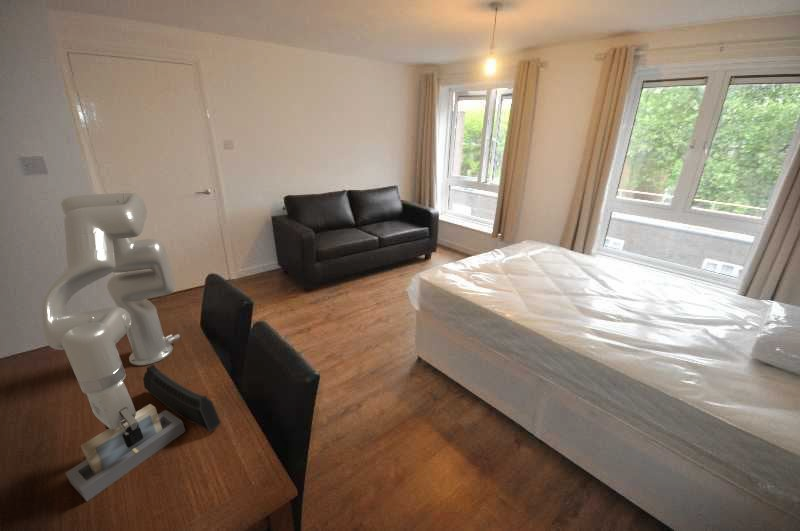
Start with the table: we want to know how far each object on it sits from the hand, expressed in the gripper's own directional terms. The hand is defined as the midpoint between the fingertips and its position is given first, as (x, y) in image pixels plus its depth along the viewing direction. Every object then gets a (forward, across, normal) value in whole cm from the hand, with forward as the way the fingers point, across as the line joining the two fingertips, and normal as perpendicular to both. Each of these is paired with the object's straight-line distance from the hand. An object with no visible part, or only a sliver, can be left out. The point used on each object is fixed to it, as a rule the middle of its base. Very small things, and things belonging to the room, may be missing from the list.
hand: (124, 433), depth 79 cm
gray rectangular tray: (+7, 0, 0) cm, 7 cm away
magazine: (+7, -4, +14) cm, 17 cm away
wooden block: (+6, 0, 0) cm, 6 cm away
